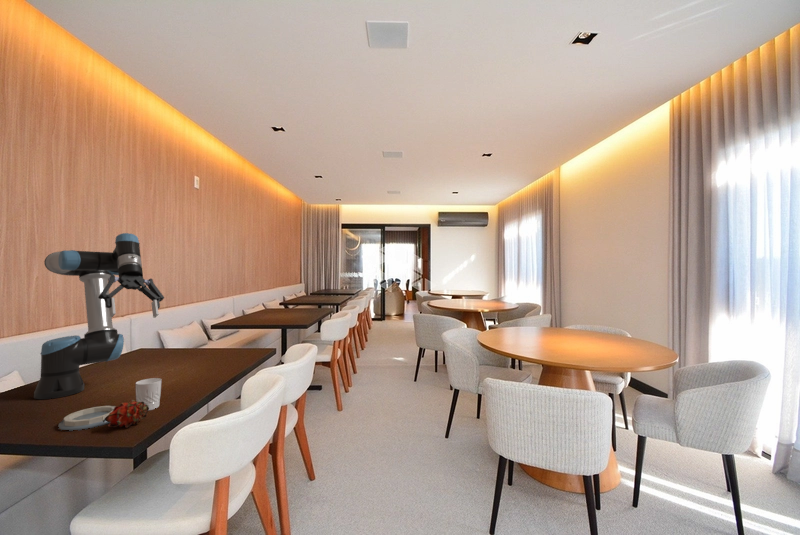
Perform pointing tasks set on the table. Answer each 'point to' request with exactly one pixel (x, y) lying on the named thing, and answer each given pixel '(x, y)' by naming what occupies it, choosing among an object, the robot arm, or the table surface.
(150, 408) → the white cup
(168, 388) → the table surface
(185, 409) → the table surface
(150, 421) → the table surface
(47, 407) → the table surface
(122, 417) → the dragon fruit
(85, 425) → the ring plate
